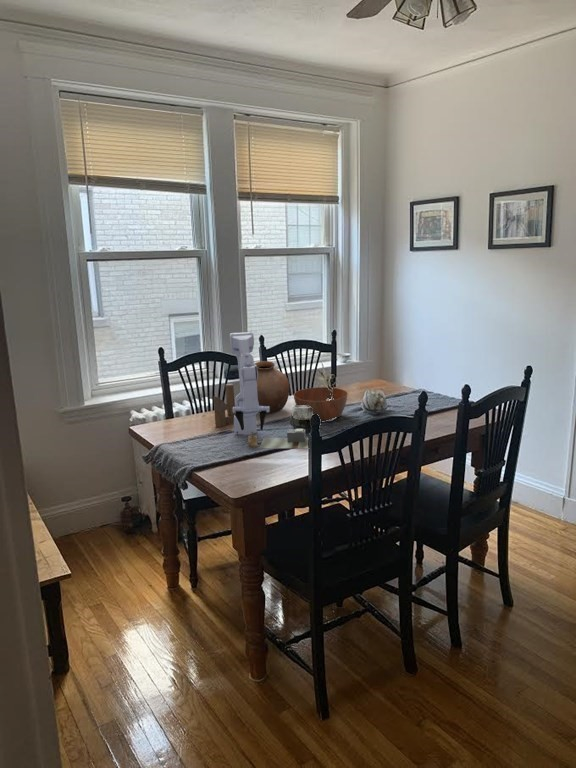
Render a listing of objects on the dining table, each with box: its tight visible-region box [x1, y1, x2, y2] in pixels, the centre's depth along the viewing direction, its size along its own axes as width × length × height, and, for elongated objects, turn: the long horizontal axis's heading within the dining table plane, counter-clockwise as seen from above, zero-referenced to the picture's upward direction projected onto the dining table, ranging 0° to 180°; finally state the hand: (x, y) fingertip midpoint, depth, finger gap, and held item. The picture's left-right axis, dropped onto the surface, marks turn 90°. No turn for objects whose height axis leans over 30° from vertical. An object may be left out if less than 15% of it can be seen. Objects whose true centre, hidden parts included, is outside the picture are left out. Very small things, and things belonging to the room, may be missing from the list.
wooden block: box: [212, 383, 235, 428], centre depth 259 cm, size 4×11×18 cm, turn 140°
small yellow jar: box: [247, 432, 259, 448], centre depth 227 cm, size 4×4×7 cm
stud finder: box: [286, 428, 307, 442], centre depth 231 cm, size 7×4×4 cm, turn 84°
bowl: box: [293, 386, 349, 423], centre depth 263 cm, size 25×25×11 cm
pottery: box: [254, 360, 290, 415], centre depth 273 cm, size 23×23×25 cm
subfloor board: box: [259, 437, 309, 449], centre depth 229 cm, size 20×12×1 cm, turn 84°
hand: (252, 429), depth 226 cm, fingers open, 7 cm apart
